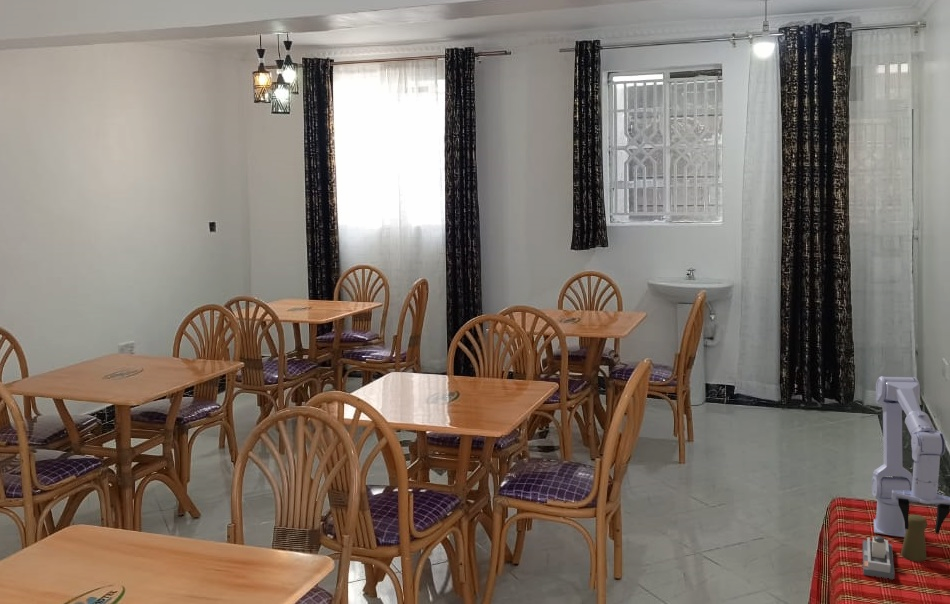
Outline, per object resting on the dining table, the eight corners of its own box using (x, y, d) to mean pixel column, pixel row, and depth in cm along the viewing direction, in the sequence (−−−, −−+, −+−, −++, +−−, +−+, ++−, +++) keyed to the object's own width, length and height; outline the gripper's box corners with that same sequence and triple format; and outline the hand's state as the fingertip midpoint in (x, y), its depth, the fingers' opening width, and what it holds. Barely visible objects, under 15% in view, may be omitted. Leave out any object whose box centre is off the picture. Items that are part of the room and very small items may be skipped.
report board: (862, 545, 232) (863, 533, 231) (891, 549, 229) (892, 537, 229) (863, 574, 216) (864, 561, 215) (894, 579, 213) (895, 566, 212)
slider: (871, 551, 224) (872, 534, 224) (884, 553, 223) (885, 536, 223) (871, 556, 222) (872, 539, 221) (884, 558, 221) (885, 541, 220)
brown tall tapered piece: (929, 562, 222) (932, 522, 220) (904, 560, 223) (907, 520, 221) (922, 551, 228) (925, 512, 226) (897, 550, 229) (900, 511, 227)
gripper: (893, 480, 214) (890, 531, 216) (960, 488, 208) (955, 540, 210) (892, 470, 220) (889, 520, 223) (957, 478, 215) (952, 529, 217)
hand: (921, 529), depth 217 cm, fingers open, 6 cm apart
